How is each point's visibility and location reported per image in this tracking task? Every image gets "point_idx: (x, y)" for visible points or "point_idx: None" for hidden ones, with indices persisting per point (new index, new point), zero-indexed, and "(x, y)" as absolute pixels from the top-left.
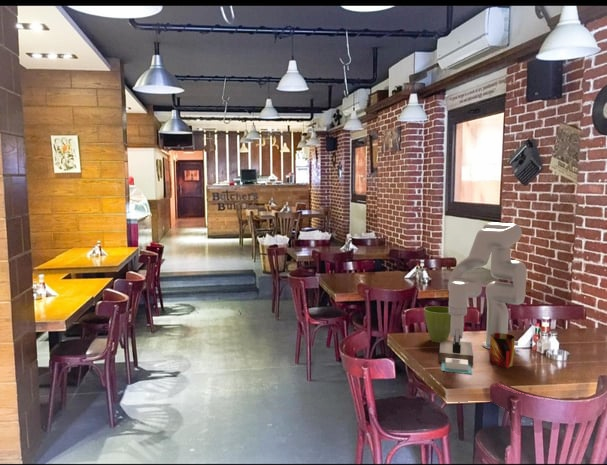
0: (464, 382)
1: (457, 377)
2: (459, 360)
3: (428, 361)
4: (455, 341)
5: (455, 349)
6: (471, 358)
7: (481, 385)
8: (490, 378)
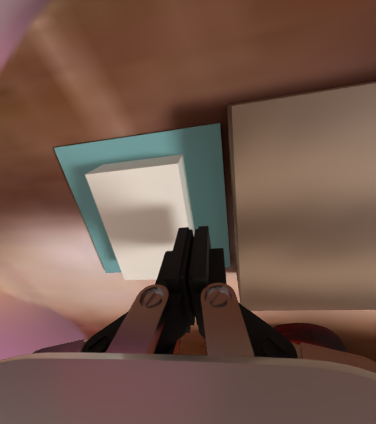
0: (6, 249)
1: (36, 224)
2: (164, 243)
3: (196, 16)
4: (92, 341)
5: (164, 264)
6: (239, 289)
7: (25, 293)
8: (108, 315)
